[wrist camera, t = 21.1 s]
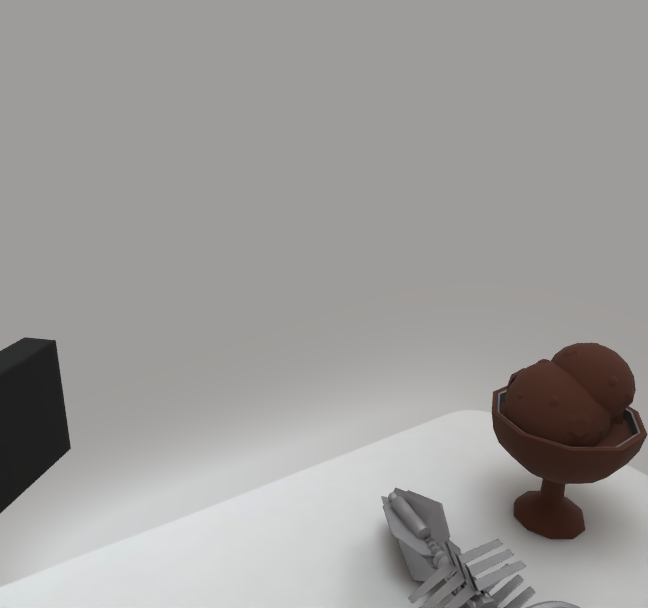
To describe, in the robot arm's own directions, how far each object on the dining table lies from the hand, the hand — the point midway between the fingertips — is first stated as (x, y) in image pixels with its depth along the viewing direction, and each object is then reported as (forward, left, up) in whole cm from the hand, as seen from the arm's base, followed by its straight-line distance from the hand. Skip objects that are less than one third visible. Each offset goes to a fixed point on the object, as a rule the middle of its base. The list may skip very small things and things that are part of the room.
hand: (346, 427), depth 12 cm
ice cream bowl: (+20, +28, -25) cm, 43 cm away
